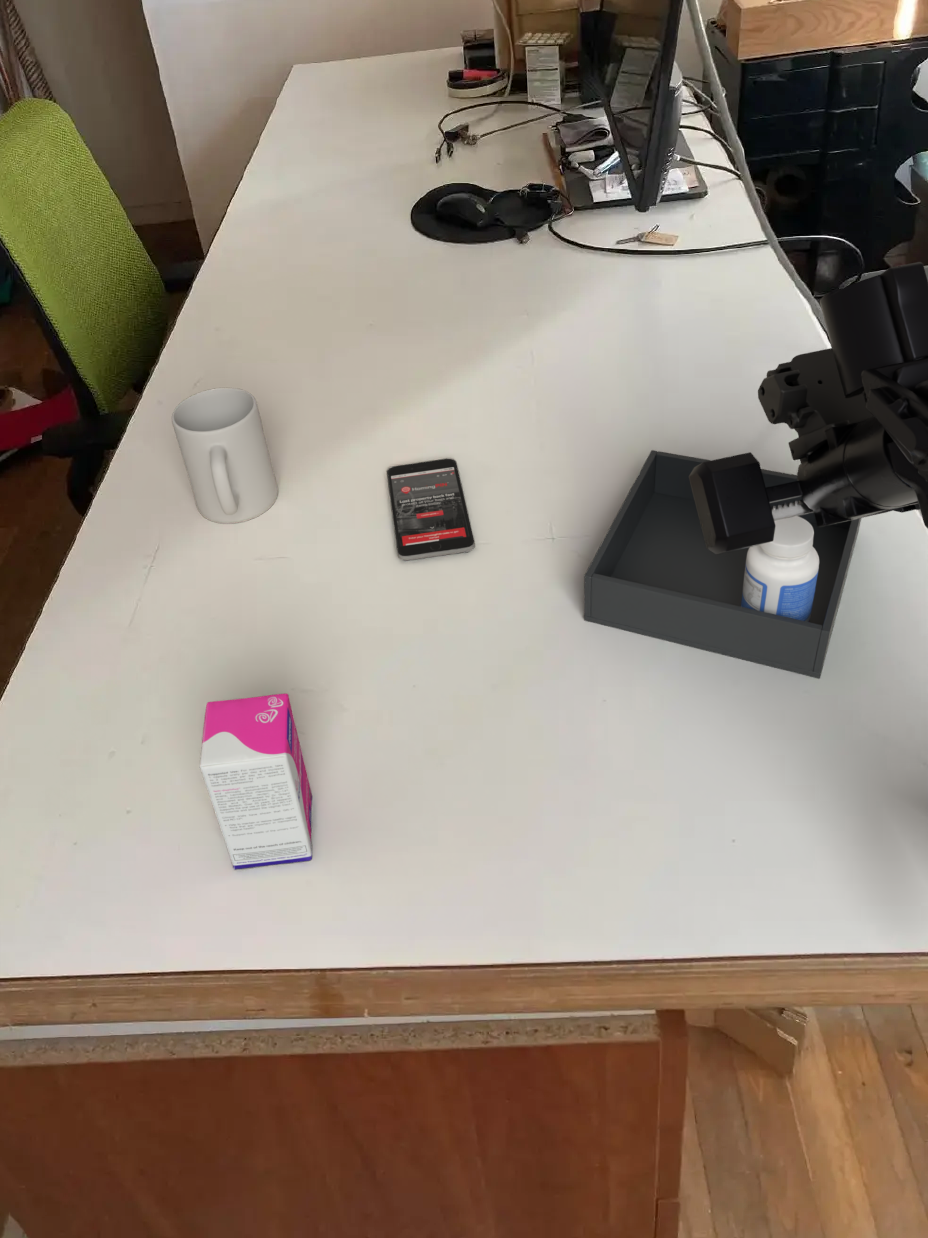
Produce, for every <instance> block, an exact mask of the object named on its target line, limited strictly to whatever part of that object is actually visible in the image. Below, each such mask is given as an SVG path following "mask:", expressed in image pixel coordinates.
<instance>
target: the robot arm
mask: <svg viewBox="0 0 928 1238" xmlns="http://www.w3.org/2000/svg"><path fill="white" fill-rule="evenodd" d="M819 305H820V308H821V313H822V316H823V320H824V324H825V327H826V331H827V335H828V338H829V342H830V347H831V348H824V349H820V350H815V351H811V352H805V353H801V354H797V355H795V356H794V357H792V359H791V360H790V361H788V362H782V363H778V365H777V367H776V368H775V369H770V370H767V373H766V377H764V378H763V379H762V381H761V383H760V385H759V387H758V389H757V399H758V400H759V403H760V405H761V407H762V409H763V412H764V414H765V417H766V418H767V421H768V422H769V423H770V424H772V425H778V424H786V425H787V426H788V428H789V429H790V430H795V432H796V433H797V436H798V437H796V438H793V440H790V441H788V448H789V451H790V455H791V458H792V461H798V460H799V462H800V464H799V465H798V468H797V471H796V472H797V473H796V475H797V481H794V482H789V483H785V484H780V485H776V486H771V487H765V483H764V479H763V475H762V471H761V469H762V467H761V462H760V461H759V460H758V459H757V458H756V457H755V455H754V454H753V453H752V452H749V451H748V452H745V453H740V454H736V455H731V456H726V457H725V456H724V457H722V458H717V459H710V460H711V461H706V462H703V463H701V464H699V465H698V466H696V467H694V469H693V471H692V472H691V474H690V475H689V480H690V484H691V488H692V492H693V496H694V500H695V504H696V508H697V512H698V516H699V520H700V524H701V528H702V532H703V536H704V540H705V544H706V548H707V549H708V550H710V551H711V552H713V553H715V554H721V553H725V552H730V551H734V550H739V549H744V548H748V547H753V546H757V545H761V544H765V543H769V542H772V541H773V540H774V533H775V527H776V526H775V522H774V521H777V520H781V519H786V518H790V517H795V516H800V515H804V514H809V513H813V512H814V516H815V520H816V524H817V528H818V527H823V526H828V525H832V524H837V523H841V522H846V521H850V520H855V519H859V518H861V519H864V518H868V517H873V516H878V515H881V514H887V513H889V512H897V513H906V512H911V511H915V510H916V511H920V514H921V517H922V518H921V519H922V521H923V524H924V527H925V528H926V529H928V276H927V273H926V269H925V265H924V263H923V262H921V261H917V262H913V263H908V264H902V265H897V266H891V267H889V268H887V269H886V270H884V271H883V272H882V273H880V274H877V275H873V276H871V277H869V278H865V279H862V280H860V281H857V282H854V283H852V284H850V285H847V286H844V287H841V288H837V289H833V290H830V291H828V292H827V293H826V294H824V295H823V296H822V297H821V298H820V300H819ZM800 496H801V497H802V499H803V500H804V502H803V500H799V501H798V502H797V501H794V502H793V504H792V503H791V502H789V503H788V505H786V503H784V504H782V506H781V505H780V504H779V505H777V508H776V507H775V506H770V503H773V502H777V501H782V500H787V499H791V498H796V497H800Z"/></svg>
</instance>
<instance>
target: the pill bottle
mask: <svg viewBox="0 0 928 1238" xmlns="http://www.w3.org/2000/svg"><path fill="white" fill-rule="evenodd" d="M774 522H775V526H776V527H775V533H774V540H773V541H772V542H769V543H765V544H761V545H757V546H753V547H750V548H749V550H748V552H747V557H746V565H745V574H744V583H743V593H742V602H741V607H744V608H749V609H753V610H758V611H762V612H766V613H771V614H775V615H780V616H784V617H788V618H793V619H797V620H802V621H806V622H810V616H811V611H812V605H813V599H814V593H815V587H816V581H817V576H818V569H819V556H818V554H817V551H816V550H815V549H814V547H813V546H812V545H813V536H814V530H813V527H812V526H811V524H810V523H809V522H808V521H806V520H805V519H803V518H801V517H798V516H795V517H790V518H786V519H781V520H777V521H774Z"/></svg>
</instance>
